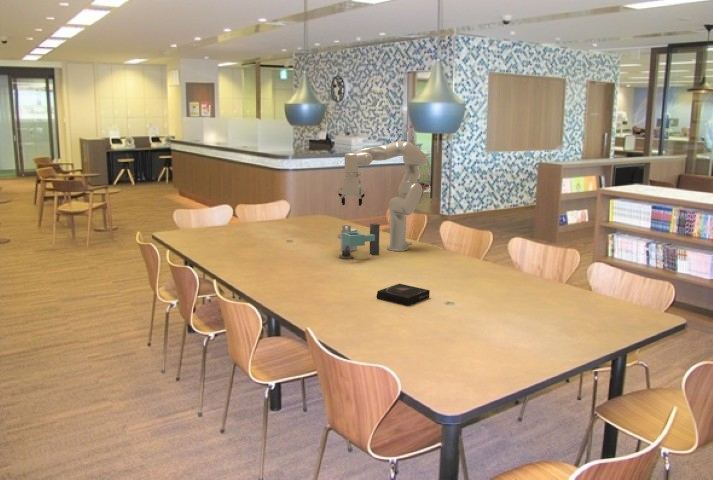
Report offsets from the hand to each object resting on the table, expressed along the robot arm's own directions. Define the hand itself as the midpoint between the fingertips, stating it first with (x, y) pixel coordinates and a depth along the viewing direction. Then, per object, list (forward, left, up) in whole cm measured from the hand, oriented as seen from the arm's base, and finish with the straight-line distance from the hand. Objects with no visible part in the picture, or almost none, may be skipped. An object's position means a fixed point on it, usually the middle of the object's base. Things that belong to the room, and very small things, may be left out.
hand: (351, 205), depth 354 cm
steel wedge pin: (-13, +4, -29) cm, 32 cm away
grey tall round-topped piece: (+5, +3, -29) cm, 30 cm away
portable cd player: (+18, +86, -30) cm, 93 cm away
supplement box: (-5, -13, -29) cm, 33 cm away
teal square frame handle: (+1, +12, -20) cm, 23 cm away
